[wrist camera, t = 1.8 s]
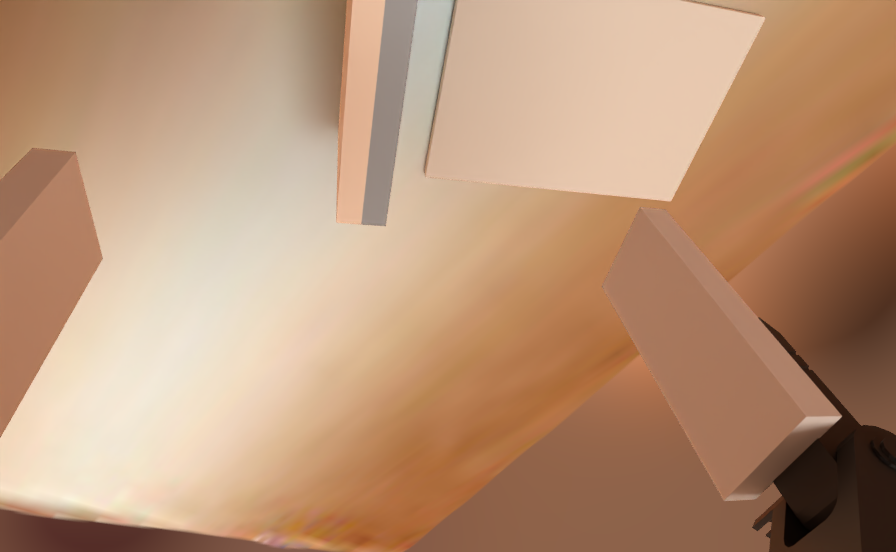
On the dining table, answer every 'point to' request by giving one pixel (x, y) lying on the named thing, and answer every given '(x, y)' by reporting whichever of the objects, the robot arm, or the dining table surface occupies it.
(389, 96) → the tile
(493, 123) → the mat
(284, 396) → the dining table surface
